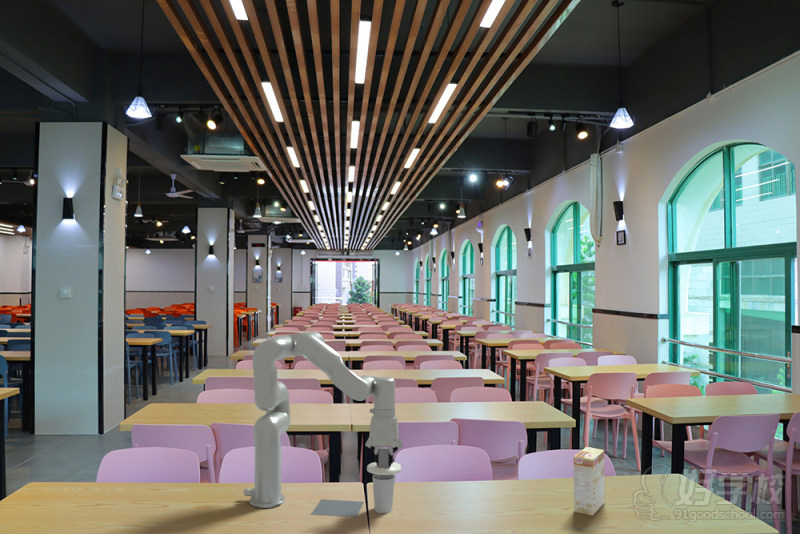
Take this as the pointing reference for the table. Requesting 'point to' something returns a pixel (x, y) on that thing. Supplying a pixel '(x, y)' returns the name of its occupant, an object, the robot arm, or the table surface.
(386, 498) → the cup
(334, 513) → the mat
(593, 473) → the coffeecake box
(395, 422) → the robot arm
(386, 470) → the lid
